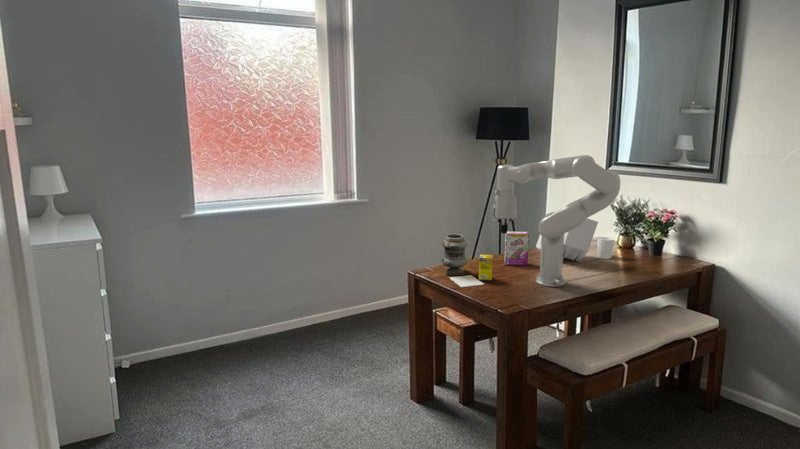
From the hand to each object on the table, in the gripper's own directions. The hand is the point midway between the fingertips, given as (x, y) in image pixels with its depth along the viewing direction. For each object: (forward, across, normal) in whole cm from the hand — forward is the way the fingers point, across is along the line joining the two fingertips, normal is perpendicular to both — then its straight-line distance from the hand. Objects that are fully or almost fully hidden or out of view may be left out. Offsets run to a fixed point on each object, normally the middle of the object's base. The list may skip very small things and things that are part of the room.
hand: (503, 232), depth 244 cm
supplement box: (+21, -9, 0) cm, 23 cm away
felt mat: (+21, -18, 0) cm, 28 cm away
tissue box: (+21, +43, +16) cm, 51 cm away
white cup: (+21, +65, +13) cm, 70 cm away
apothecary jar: (+22, -18, +15) cm, 31 cm away
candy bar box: (+21, +16, +17) cm, 32 cm away
